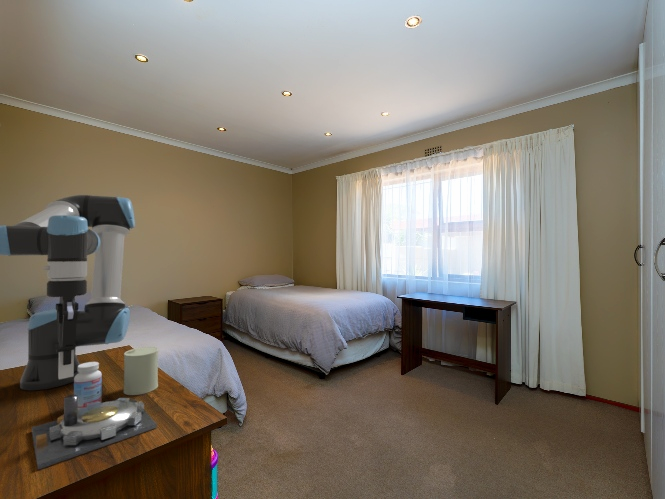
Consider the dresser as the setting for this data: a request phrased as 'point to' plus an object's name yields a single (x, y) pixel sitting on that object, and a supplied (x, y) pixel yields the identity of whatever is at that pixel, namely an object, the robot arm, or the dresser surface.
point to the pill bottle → (88, 384)
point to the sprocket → (95, 419)
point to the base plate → (57, 451)
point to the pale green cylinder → (140, 370)
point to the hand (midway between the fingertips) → (66, 377)
